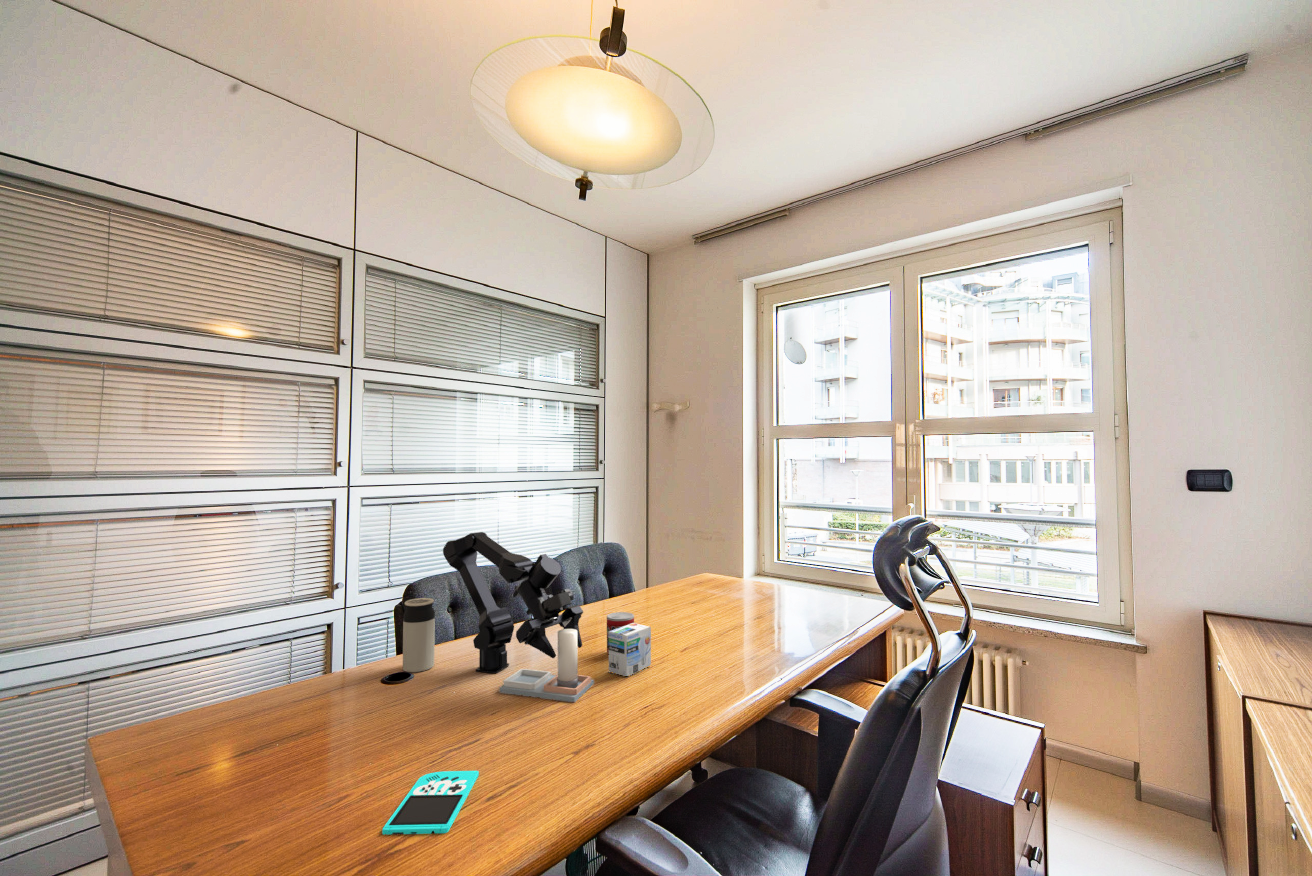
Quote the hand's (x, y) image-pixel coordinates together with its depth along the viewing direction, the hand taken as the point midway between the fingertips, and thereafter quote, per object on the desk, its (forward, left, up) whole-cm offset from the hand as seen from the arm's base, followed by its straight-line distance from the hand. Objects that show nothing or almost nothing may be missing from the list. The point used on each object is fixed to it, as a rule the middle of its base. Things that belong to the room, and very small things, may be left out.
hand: (568, 651), depth 135 cm
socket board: (-6, 0, -9) cm, 11 cm away
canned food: (+2, +29, -10) cm, 31 cm away
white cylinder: (0, 0, -8) cm, 8 cm away
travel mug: (-47, +3, -10) cm, 48 cm away
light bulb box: (+9, +18, -10) cm, 23 cm away
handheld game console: (-1, -47, -10) cm, 48 cm away
